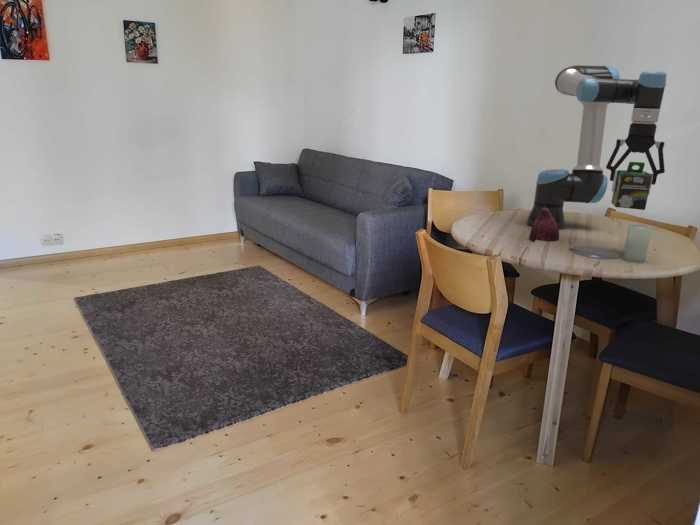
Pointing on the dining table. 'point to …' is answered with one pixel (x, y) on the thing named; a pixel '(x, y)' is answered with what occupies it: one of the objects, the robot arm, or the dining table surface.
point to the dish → (594, 252)
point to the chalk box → (632, 187)
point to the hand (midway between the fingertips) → (629, 192)
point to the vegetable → (544, 227)
